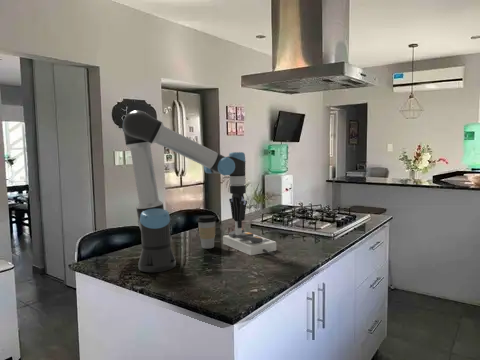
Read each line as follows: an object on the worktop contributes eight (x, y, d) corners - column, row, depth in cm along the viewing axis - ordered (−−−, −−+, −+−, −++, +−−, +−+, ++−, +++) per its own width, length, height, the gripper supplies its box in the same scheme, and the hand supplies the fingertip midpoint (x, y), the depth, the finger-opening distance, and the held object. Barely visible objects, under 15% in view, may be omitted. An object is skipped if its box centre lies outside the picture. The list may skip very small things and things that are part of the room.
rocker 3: (249, 240, 176) (250, 236, 176) (244, 239, 180) (245, 235, 180) (262, 242, 180) (262, 238, 180) (257, 240, 183) (258, 236, 183)
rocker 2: (240, 239, 183) (240, 235, 183) (236, 237, 187) (236, 233, 187) (253, 237, 187) (253, 233, 187) (248, 235, 190) (248, 232, 190)
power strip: (260, 259, 167) (260, 248, 166) (223, 243, 196) (222, 234, 195) (286, 254, 174) (286, 243, 173) (246, 239, 203) (246, 230, 203)
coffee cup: (194, 248, 189) (193, 217, 187) (205, 243, 197) (204, 214, 196) (211, 250, 184) (209, 219, 183) (221, 245, 192) (220, 215, 191)
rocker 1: (232, 237, 190) (232, 234, 190) (229, 236, 194) (228, 232, 194) (244, 232, 194) (243, 229, 193) (240, 230, 197) (239, 227, 197)
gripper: (251, 185, 179) (252, 235, 181) (237, 183, 191) (238, 231, 192) (237, 186, 176) (238, 238, 177) (224, 184, 187) (225, 233, 189)
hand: (238, 234), depth 185 cm, fingers closed
